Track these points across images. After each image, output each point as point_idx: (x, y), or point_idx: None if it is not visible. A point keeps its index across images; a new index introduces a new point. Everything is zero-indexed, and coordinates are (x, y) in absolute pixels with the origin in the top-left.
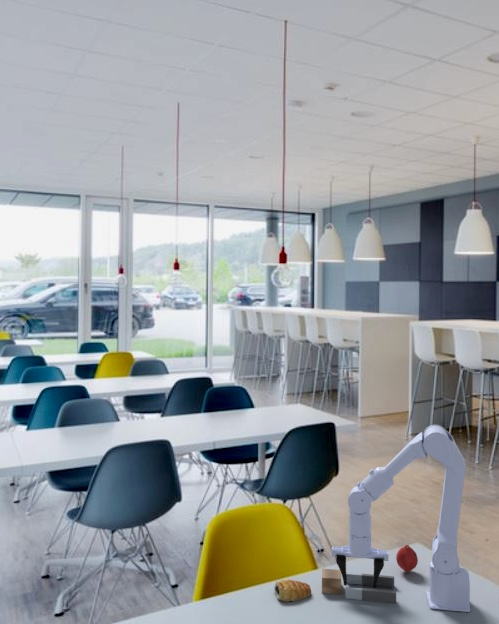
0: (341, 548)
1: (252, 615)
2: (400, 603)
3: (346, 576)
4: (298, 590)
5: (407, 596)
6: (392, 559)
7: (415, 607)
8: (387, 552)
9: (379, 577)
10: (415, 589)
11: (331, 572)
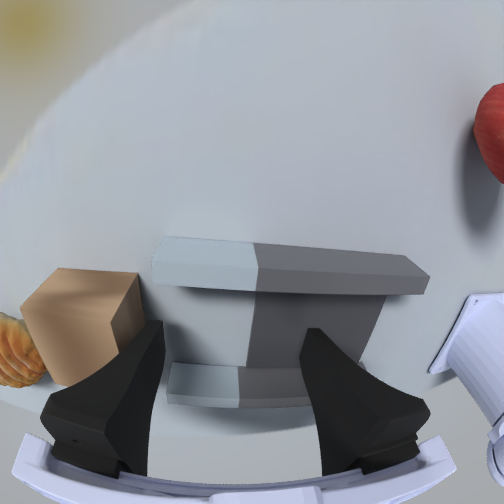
0: (75, 495)
1: (8, 397)
2: (369, 368)
3: (155, 347)
4: (26, 383)
5: (411, 325)
6: (436, 7)
7: (399, 373)
8: (438, 482)
9: (360, 293)
10: (455, 274)
11: (70, 347)
